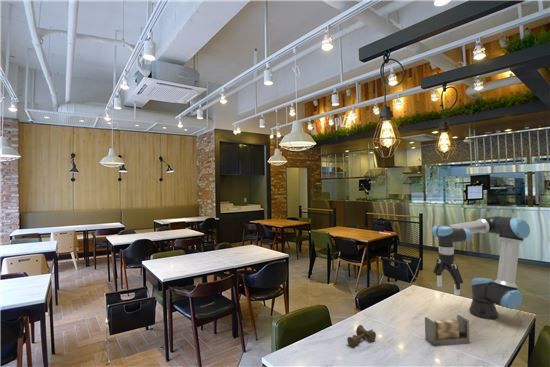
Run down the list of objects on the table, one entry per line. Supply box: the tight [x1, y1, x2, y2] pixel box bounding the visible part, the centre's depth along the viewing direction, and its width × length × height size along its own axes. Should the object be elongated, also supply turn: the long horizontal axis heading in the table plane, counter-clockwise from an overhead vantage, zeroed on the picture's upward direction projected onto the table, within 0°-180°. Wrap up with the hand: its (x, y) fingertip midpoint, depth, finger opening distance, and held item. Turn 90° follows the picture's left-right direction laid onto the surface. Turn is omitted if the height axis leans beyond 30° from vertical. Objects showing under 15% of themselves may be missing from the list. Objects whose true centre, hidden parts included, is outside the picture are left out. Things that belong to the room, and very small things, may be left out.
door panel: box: [433, 318, 459, 339], centre depth 156 cm, size 12×3×10 cm, turn 96°
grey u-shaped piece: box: [424, 314, 470, 347], centre depth 156 cm, size 20×7×12 cm, turn 96°
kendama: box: [347, 324, 377, 348], centre depth 158 cm, size 6×10×20 cm
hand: (448, 290), depth 165 cm, fingers open, 13 cm apart
